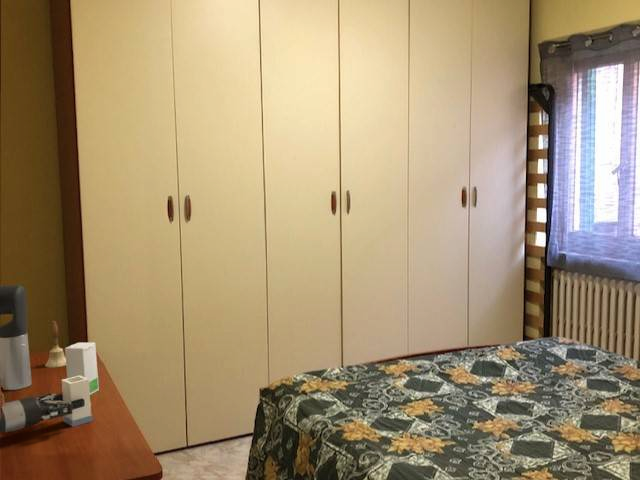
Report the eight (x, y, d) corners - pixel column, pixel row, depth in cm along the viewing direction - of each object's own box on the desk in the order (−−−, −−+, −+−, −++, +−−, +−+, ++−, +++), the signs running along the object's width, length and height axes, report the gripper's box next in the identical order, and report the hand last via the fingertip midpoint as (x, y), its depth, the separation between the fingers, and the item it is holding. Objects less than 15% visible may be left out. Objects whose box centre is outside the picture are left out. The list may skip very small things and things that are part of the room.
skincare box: (86, 398, 219) (82, 349, 217) (66, 397, 221) (63, 348, 219) (99, 389, 227) (96, 341, 226) (80, 388, 229) (77, 341, 227)
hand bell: (50, 369, 252) (47, 324, 250) (41, 364, 258) (38, 321, 256) (73, 364, 257) (70, 320, 255) (64, 359, 263) (60, 317, 261)
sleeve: (72, 426, 196) (69, 384, 195) (63, 421, 200) (59, 379, 199) (93, 420, 200) (90, 379, 199) (83, 415, 204) (80, 374, 203)
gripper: (27, 407, 183) (87, 391, 194) (7, 394, 193) (65, 380, 204) (30, 435, 184) (89, 417, 195) (9, 421, 194) (67, 405, 205)
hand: (77, 398), depth 200 cm, fingers open, 8 cm apart
